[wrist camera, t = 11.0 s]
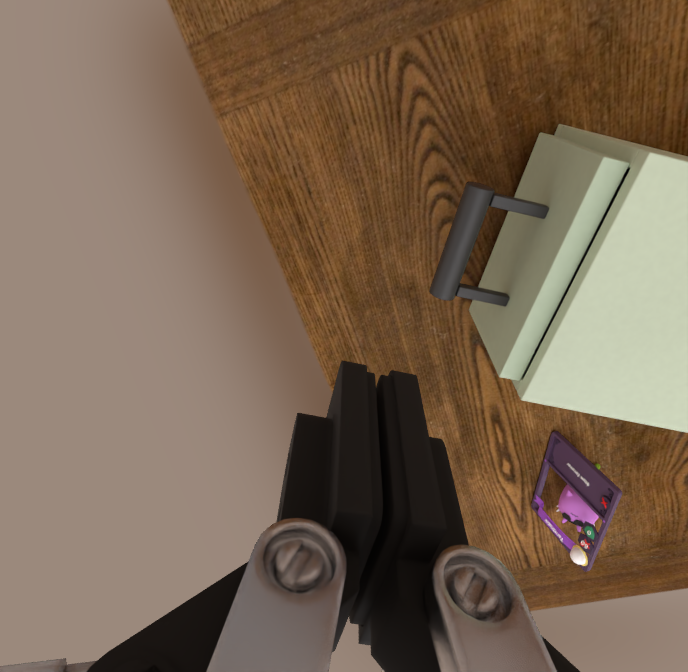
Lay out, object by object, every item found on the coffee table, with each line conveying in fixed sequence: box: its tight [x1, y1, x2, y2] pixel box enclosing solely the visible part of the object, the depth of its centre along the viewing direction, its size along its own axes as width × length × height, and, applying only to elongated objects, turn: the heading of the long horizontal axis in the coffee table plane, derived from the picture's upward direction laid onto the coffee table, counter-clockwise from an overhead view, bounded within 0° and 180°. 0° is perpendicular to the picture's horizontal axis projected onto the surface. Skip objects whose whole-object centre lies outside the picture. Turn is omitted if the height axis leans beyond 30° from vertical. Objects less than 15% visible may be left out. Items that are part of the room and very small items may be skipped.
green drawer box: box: [511, 124, 688, 433], centre depth 26 cm, size 16×13×10 cm
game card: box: [531, 431, 622, 572], centre depth 38 cm, size 7×5×9 cm
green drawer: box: [430, 132, 630, 381], centre depth 26 cm, size 19×11×8 cm, turn 77°
